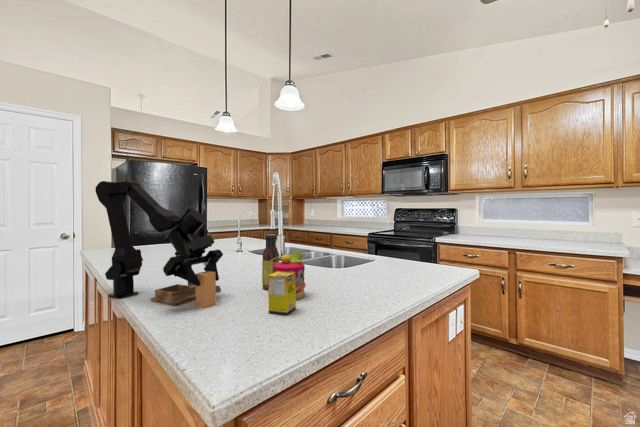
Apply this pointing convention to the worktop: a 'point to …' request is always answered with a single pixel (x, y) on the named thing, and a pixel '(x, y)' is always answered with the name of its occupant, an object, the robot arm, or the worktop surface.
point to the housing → (177, 294)
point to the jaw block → (206, 289)
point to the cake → (296, 266)
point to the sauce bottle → (269, 258)
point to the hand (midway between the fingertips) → (209, 282)
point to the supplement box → (281, 292)
